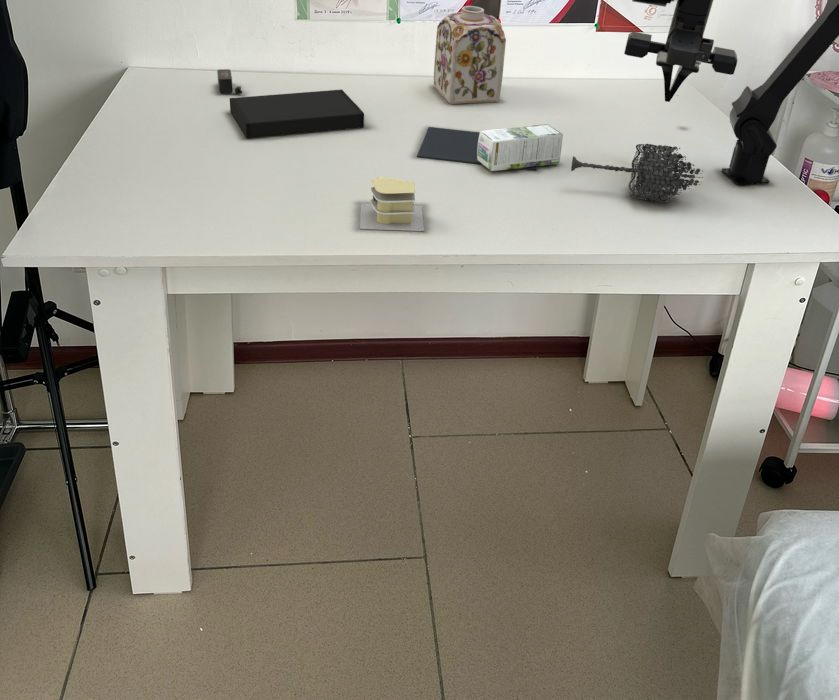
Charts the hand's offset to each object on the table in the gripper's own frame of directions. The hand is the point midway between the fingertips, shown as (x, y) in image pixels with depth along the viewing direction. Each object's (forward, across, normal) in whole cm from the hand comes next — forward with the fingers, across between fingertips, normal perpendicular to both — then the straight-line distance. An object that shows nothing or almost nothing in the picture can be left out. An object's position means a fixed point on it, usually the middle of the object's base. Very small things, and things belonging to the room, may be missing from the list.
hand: (667, 101), depth 161 cm
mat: (+15, -31, -3) cm, 35 cm away
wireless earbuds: (+18, -87, +8) cm, 89 cm away
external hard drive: (+17, -68, -2) cm, 70 cm away
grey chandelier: (+13, -2, -14) cm, 19 cm away
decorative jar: (+15, -40, +26) cm, 50 cm away
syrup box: (+10, -18, -3) cm, 21 cm away
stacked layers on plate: (+16, -39, -37) cm, 56 cm away
